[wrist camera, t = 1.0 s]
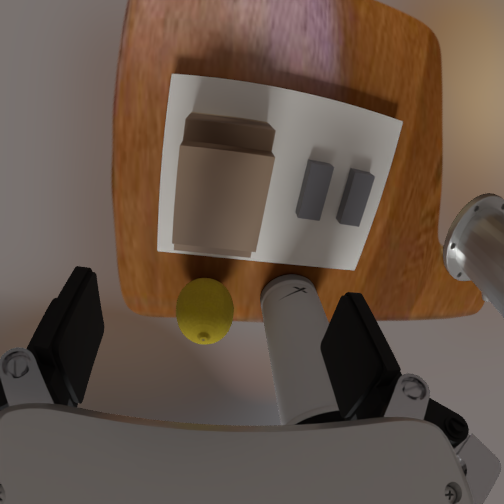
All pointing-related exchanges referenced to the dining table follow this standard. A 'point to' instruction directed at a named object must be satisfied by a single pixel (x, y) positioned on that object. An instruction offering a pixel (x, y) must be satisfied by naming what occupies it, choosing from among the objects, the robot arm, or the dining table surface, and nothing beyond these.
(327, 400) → the travel mug
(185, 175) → the block
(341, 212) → the dark grey block
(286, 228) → the board
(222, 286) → the lemon
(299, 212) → the dark grey block
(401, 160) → the dining table surface
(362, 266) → the dining table surface
